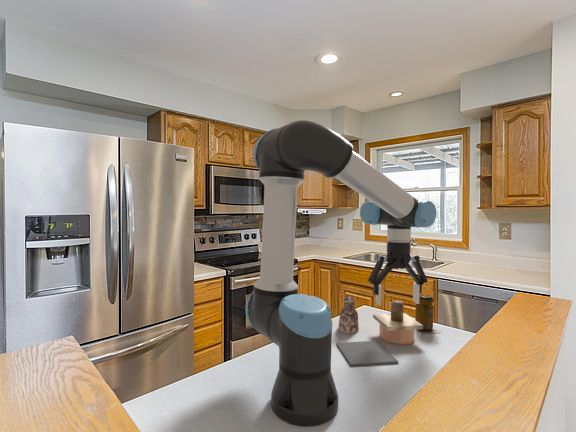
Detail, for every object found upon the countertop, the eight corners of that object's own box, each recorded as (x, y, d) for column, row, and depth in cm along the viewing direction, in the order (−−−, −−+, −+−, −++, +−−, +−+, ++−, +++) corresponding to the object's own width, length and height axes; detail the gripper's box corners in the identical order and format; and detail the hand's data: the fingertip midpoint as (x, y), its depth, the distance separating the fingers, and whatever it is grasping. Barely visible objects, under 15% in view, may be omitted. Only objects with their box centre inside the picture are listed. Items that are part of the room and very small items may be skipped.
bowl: (388, 345, 104) (388, 330, 103) (374, 331, 114) (374, 318, 114) (420, 343, 105) (420, 328, 105) (403, 330, 116) (404, 316, 116)
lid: (388, 330, 103) (388, 308, 103) (373, 317, 115) (373, 297, 114) (423, 329, 104) (423, 307, 104) (404, 316, 116) (405, 296, 116)
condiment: (426, 324, 123) (427, 293, 122) (441, 332, 114) (442, 299, 114) (409, 325, 121) (410, 294, 121) (423, 334, 113) (424, 300, 112)
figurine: (338, 332, 114) (338, 298, 113) (338, 325, 121) (339, 293, 120) (359, 333, 113) (359, 299, 112) (357, 326, 120) (358, 294, 119)
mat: (350, 366, 90) (350, 364, 90) (336, 344, 104) (336, 342, 104) (398, 363, 92) (398, 361, 92) (377, 342, 106) (377, 340, 106)
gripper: (426, 239, 114) (425, 299, 115) (359, 240, 111) (358, 301, 111) (439, 242, 107) (437, 305, 107) (367, 242, 103) (366, 308, 104)
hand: (397, 303), depth 109 cm, fingers open, 13 cm apart
